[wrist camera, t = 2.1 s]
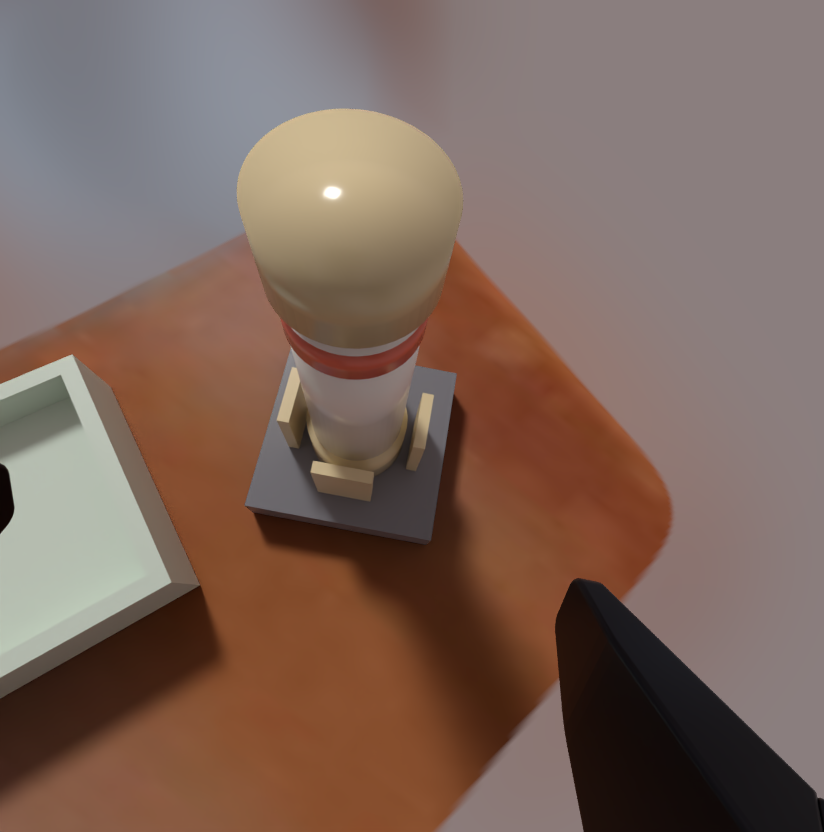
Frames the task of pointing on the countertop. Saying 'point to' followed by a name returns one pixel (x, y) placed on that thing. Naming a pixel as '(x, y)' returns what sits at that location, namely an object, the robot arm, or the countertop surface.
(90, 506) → the tray
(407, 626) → the countertop surface
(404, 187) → the white and tan post
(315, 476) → the grey stand with brackets
